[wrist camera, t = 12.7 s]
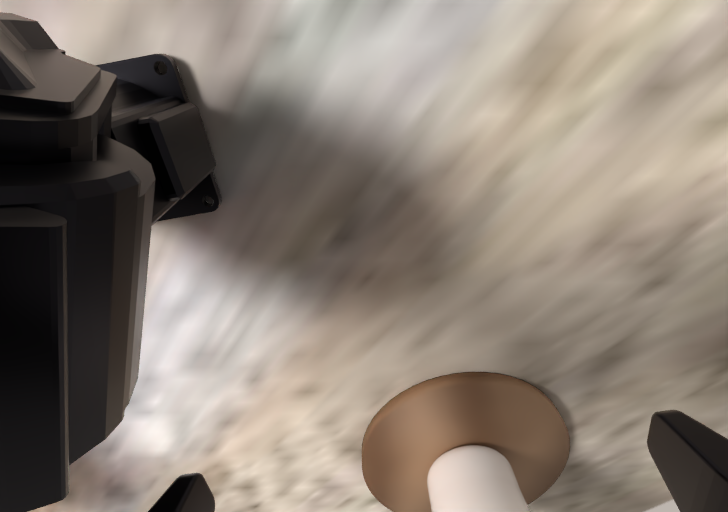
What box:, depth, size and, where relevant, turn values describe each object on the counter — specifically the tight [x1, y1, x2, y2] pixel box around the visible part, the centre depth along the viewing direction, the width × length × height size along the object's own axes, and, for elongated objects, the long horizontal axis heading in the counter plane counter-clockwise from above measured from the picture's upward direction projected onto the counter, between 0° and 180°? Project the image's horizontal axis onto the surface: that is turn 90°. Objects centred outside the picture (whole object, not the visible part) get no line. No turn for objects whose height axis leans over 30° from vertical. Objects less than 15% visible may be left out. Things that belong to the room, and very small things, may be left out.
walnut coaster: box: [362, 372, 570, 512], centre depth 27 cm, size 13×13×1 cm
